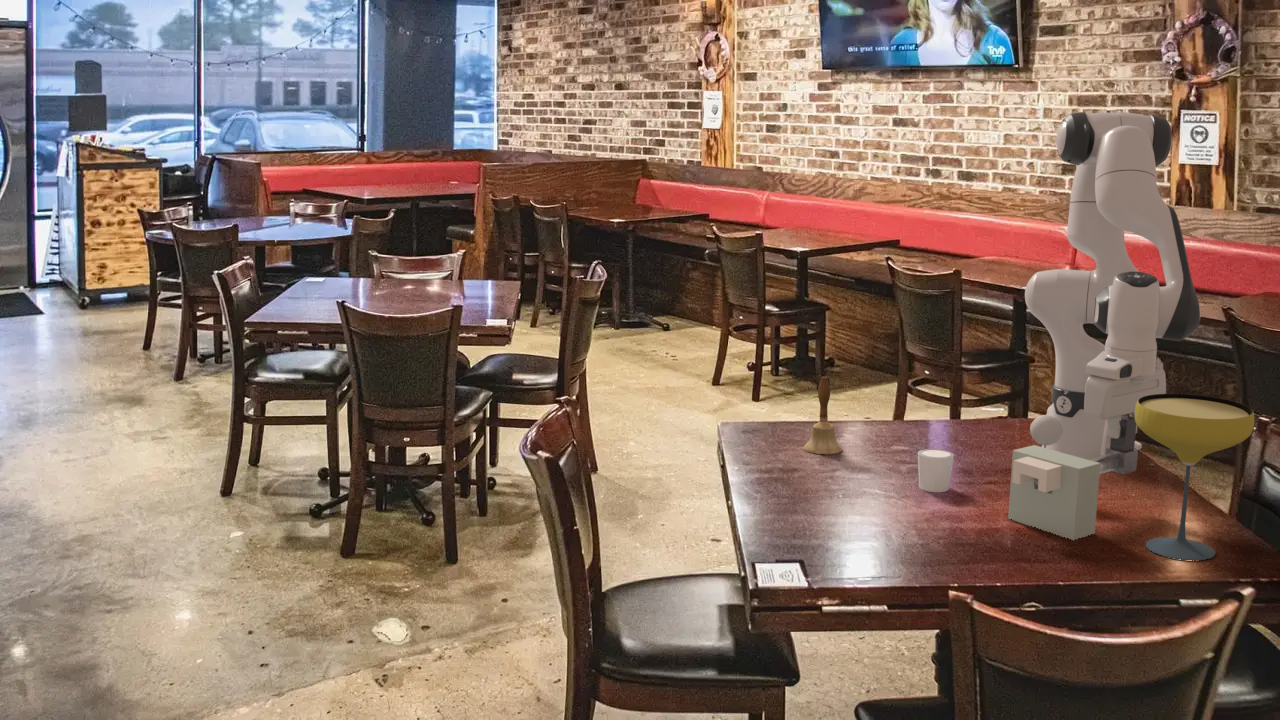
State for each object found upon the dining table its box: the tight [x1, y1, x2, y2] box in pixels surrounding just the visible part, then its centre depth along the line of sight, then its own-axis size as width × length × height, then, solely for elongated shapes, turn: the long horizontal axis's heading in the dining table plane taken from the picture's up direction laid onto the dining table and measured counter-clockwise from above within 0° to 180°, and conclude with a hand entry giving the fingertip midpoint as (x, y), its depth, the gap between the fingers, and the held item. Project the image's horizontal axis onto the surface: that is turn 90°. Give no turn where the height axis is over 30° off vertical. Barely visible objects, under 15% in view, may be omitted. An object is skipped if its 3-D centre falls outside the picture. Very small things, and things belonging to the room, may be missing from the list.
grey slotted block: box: [1007, 444, 1101, 541], centre depth 224 cm, size 6×14×13 cm, turn 35°
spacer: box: [1012, 456, 1062, 492], centre depth 220 cm, size 4×7×4 cm, turn 35°
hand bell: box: [803, 376, 843, 456], centre depth 271 cm, size 8×8×16 cm
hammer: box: [1035, 414, 1139, 486], centre depth 228 cm, size 25×4×10 cm, turn 125°
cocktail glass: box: [1135, 393, 1255, 562], centre depth 211 cm, size 18×18×25 cm
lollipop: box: [1029, 414, 1063, 448], centre depth 244 cm, size 6×6×15 cm
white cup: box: [917, 448, 955, 493], centre depth 246 cm, size 7×7×7 cm
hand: (1123, 435), depth 233 cm, fingers closed on hammer, 3 cm apart
